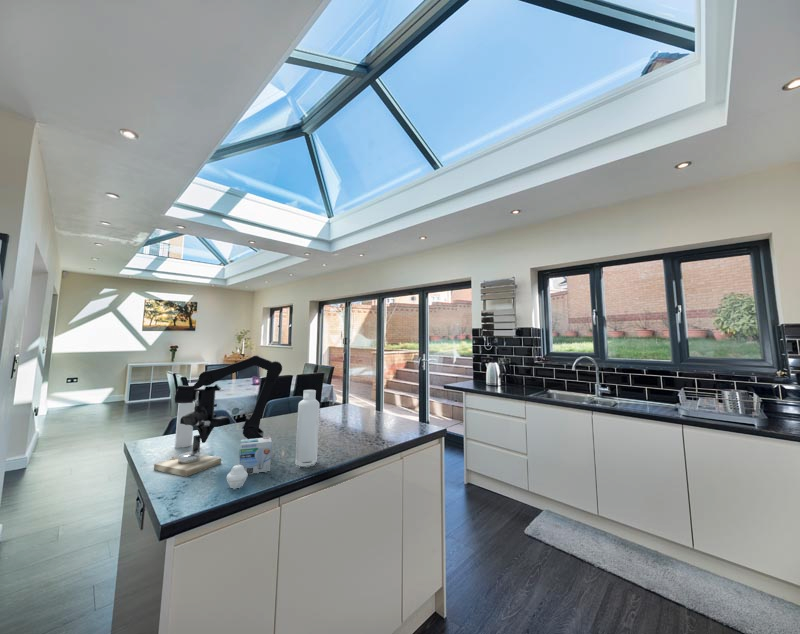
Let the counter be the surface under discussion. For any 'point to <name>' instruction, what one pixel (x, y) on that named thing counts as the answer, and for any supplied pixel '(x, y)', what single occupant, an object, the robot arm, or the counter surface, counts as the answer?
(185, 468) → the dial base plate
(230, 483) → the muffin
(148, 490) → the counter surface
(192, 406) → the milk
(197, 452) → the capstan dial
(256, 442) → the light bulb box
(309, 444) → the bottle
